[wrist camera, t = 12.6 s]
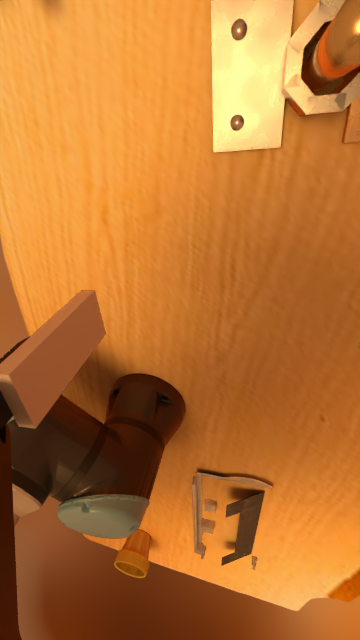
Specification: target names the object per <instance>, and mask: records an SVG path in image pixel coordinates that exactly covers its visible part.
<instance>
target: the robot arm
mask: <svg viewBox="0 0 360 640" xmlns="http://www.w3.org/2000/svg"><path fill="white" fill-rule="evenodd" d="M105 334H106V332H105V328H104V324H103V320H102V316H101V313H100V309H99V305H98V301H97V297H96V293H95V290H81V291H80V292H79V293H78V294H77V295H76V296H75V297H73V298H72V299H71V300H70V301H69V302H68V303H67V304H66V305H65V306H64V307H62V308H61V309H60V310H59V311H58V312H57V313H56V314H55V315H54V316H52V317H51V318H50V319H49V320H48V321H47V322H46V323H45V324H44V325H43V326H41V327H40V328H39V329H38V330H37V331H36V332H35V333H34V334H33V335H32V336H29V337H28V338H26V339H24V340H22V341H21V342H19V343H18V344H17V345H15V346H14V347H13V348H12V349H11V350H10V352H7V353H6V354H5V355H4V357H3V358H1V359H0V640H22V639H21V637H20V633H19V626H18V610H17V585H16V561H15V537H14V527H15V525H16V524H17V522H18V521H19V519H20V518H21V517H22V516H24V515H25V514H28V513H30V512H33V511H35V510H38V509H40V508H41V507H42V505H43V503H44V502H45V500H46V498H47V497H48V495H50V496H51V497H53V498H55V499H57V500H58V501H60V502H61V504H60V505H59V507H58V513H57V516H58V519H59V520H60V521H61V522H63V524H64V525H65V526H67V527H69V528H71V529H73V530H75V531H77V532H80V533H83V534H87V535H90V536H94V537H100V538H109V539H117V538H125V537H128V536H130V535H132V534H134V533H135V532H136V531H137V530H138V528H139V527H140V524H141V522H142V519H143V517H144V514H145V511H146V509H147V507H148V505H149V499H150V496H151V492H152V489H153V485H154V482H155V479H156V475H157V472H158V468H159V465H160V462H161V458H162V455H163V451H164V448H165V446H166V444H167V443H168V442H169V440H170V439H171V438H172V436H173V435H174V434H175V432H176V431H177V429H178V428H179V427H180V425H181V423H182V420H183V416H184V413H185V405H184V401H183V399H182V397H181V396H180V394H179V393H178V392H177V391H176V390H175V389H174V388H173V387H172V386H171V385H169V384H168V383H166V382H165V381H163V380H161V379H158V378H156V377H153V376H149V375H144V374H132V375H127V376H124V377H122V378H121V379H119V380H118V381H117V382H116V383H115V385H114V387H113V389H112V390H111V392H110V395H109V400H108V407H107V413H106V420H105V423H104V424H103V423H101V422H100V421H98V420H97V419H96V418H94V417H93V416H91V415H90V414H88V413H87V412H85V411H84V410H82V409H81V408H79V407H78V406H77V405H75V404H74V403H72V402H71V401H70V400H68V399H67V398H65V397H64V396H63V395H62V392H63V391H64V390H65V388H66V387H67V386H68V384H69V383H70V382H71V380H72V379H73V377H74V376H75V375H76V373H77V372H78V371H79V369H80V368H81V367H82V365H83V364H84V363H85V361H86V360H87V359H88V357H89V356H90V355H91V353H92V352H93V350H94V349H95V348H96V346H97V345H98V344H99V342H100V341H101V340H102V338H103V337H104V336H105ZM359 348H360V343H359Z"/></svg>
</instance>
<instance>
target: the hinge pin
mask: <svg viewBox="0 0 360 640" xmlns="http://www.w3.org/2000/svg"><path fill="white" fill-rule="evenodd" d="M358 66H360V0H345V2H344V3H343V5H342V6H341V8H340V9H339V11H338V12H337V14H336V16H335V17H334V19H333V20H332V22H331V23H330V25H329V26H328V28H327V29H326V31H325V32H324V34H323V36H322V37H321V39H320V40H319V42H318V43H317V45H316V46H315V48H314V49H313V51H312V53H311V54H310V56H309V57H308V59H307V60H306V62H305V64H304V66H303V70H302V81H303V82H304V83H305V84H306V86H307V87H308V88H309V89H310V90H312V91H317V90H321V89H323V88H324V87H326V86H328V85H329V84H331V83H332V82H334V81H336V80H337V79H339V78H341V77H342V76H344V75H345V74H347V73H349V72H350V71H352V70H353V69H355V68H357V67H358Z"/></svg>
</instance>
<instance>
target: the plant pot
mask: <svg viewBox="0 0 360 640" xmlns="http://www.w3.org/2000/svg"><path fill="white" fill-rule="evenodd" d="M150 539H151V537H150V535H149V534H148V533H146V532H144V531H142V530H139V529H138V530H137V531H136V532H135V533H134V534H132V535H130V536H129V537H128V538H127V540H126V542H125V544H124V546H123V548H122V549H121V550H120V551H119V552H118V555H117V557H116V560H115V563H114V565H115V567H116V568H117V569H119V570H120V571H122V572H123V573H125V574H127V575H130V576H133V577H137V578H143V577H145V576H146V574H147V571H148V567H149V561H148V556H149V547H150Z"/></svg>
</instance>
